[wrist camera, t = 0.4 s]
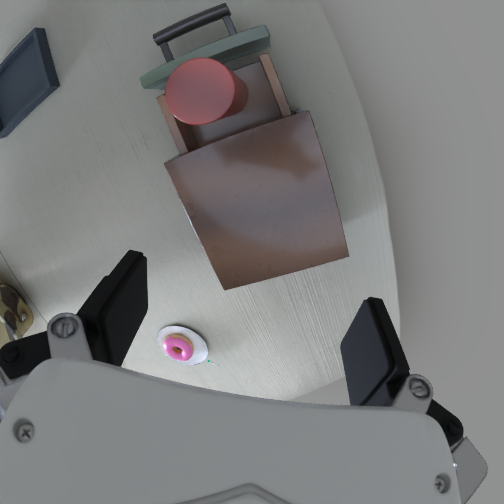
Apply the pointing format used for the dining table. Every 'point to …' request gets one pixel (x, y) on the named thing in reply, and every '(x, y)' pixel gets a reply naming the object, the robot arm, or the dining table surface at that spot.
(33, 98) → the tray
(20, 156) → the dining table surface
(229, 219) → the cabinet
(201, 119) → the red tall cylinder
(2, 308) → the bowl
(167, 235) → the dining table surface
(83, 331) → the robot arm
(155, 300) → the dining table surface
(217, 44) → the drawer
